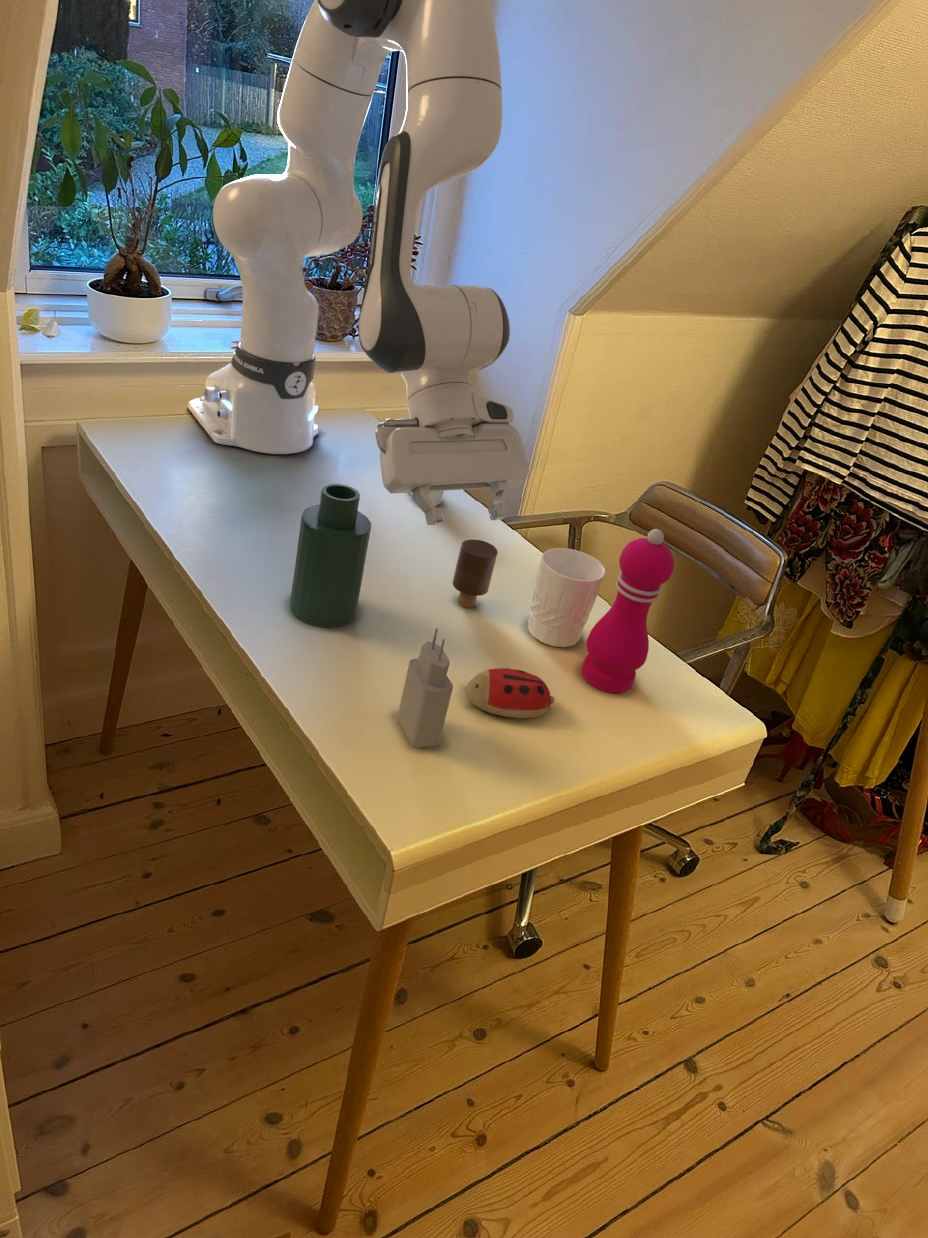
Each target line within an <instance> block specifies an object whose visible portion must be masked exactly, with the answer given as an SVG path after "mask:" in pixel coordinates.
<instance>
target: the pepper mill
mask: <svg viewBox="0 0 928 1238" xmlns="http://www.w3.org/2000/svg"><path fill="white" fill-rule="evenodd" d="M664 540H665V534H664V533H663V531H662V530H660V529H658V528H653V529H651V530H650V531H648V534H647V537H640V538H636V539H633V540H631V541H629V542H628V543H627V544H626V545H625V546H624V548H623V549H622V551H621V553H620V555H619V560H618V564H619V569H620V571H621V572H620V573H619V574H617V580H616V582H615V588H616V590H617V592H616V597H615V599H614V602H613V603H612V606H611V607H610V608H609V610H608V611H607V612H606V613H605V614H604V615H603V616H602V617H601V618H600V619H599V620H598V621H597V622H596V623H595V624H594V625H593V627H592V628H591V630H589V631H590V632H589V634H588V636H587V638H586V640H585V641H586V643H585V647H586V651H587V655H585V658H584V660H583V663H582V666H581V675H582V678H583V679H584V680H585V682H587V683H588V684H589V685H591V686H592V687H594V688H595V689H597V690H599V691H601V692H602V691H603V692H606V693H610V694H622V693H625V692H627V691H629V690H630V689H632V687H633V684H634V681H635V679H636V676H637V672H636V671H637V670H638V669H641V667H643V666H644V665H645V663H646V661H647V658H648V655H649V647H650V646H649V645H650V640H649V634H648V624H647V620H648V614H649V611H650V608H651V606H652V604H653V602H656V601H657V600H658V599H659V598H660V593H661V592H662V585H664V584H665V583H666V582H668V581H669V580H670V579H671V577H672V575H673V573H674V569H675V559H674V555H673V552H672V551H671V550H670V548H669V547H668V546H667V545H665V544H664V543H663V542H664Z"/></svg>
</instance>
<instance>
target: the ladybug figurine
mask: <svg viewBox="0 0 928 1238" xmlns="http://www.w3.org/2000/svg"><path fill="white" fill-rule="evenodd" d="M464 692H465V695H466V698H467V700H468V701H469V702H470V703H471V704H472V705H474V706H475V707H476V708H478V709H480V710H481V711H484V712H487V713H489V714H492V715H496V716H499V717H505V718H513V719H531V718H537V717H541V716H543V715H544V714H546V713H547V712H548V711H549V710H550V709H551V708H552V707H551V706H552V705H553V704H554V703H555V697H554V696H552V695H551V692H550V689H549V687H548V686H547V684H546V683H545V681H544V680H543V679H541V677H539V676H537V675H536V674H532V673H531V672H527V671H525V670H521V669H515V668H508V667H497V668H496V667H495V668H488V669H484V670H482V671H480V672H478V673H477V674H475V675H474V676H473V677H472V678H471V679H470V680H469V681H468V683H467V685H466V686H465V690H464Z"/></svg>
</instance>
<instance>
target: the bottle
mask: <svg viewBox="0 0 928 1238" xmlns="http://www.w3.org/2000/svg"><path fill="white" fill-rule="evenodd" d="M360 497H361V494H360V492H359V490H358V489H356V488H354V487H352V486H349V485H346V484H343V483H342V484H341V483H328V484H325V485H324V486H323V487H322V488H321V491H320V499H319V504H315V505H311V506H309V507H307V508H305V509H304V511H303V512H302V513H301V518H300V525H299V533H298V541H297V549H296V556H295V563H294V564H295V565H294V571H293V577H292V586H291V593H290V594H291V595H290V602H289V608H290V609H289V610H290V612H291V614H292V615H293V616H294V617H296V618H297V620H300V621H301V622H303V623H305V624H307V625H310V626H314V627H319V628H325V629H326V628H327V629H328V628H329V629H331V628H340V627H343V626H346V625H348V624H350V623H351V622H352V621H354V619H355V617H356V614H357V611H358V605H359V600H360V593H361V588H362V582H363V576H364V572H365V571H364V570H365V565H366V558H367V554H368V548H369V542H370V537H371V532H372V531H371V530H372V522H371V521H370V519H369V518H368V516H366V515H365V514H363V513H362V512H360V511H358V510H359V506H360V505H359V504H360Z"/></svg>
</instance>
